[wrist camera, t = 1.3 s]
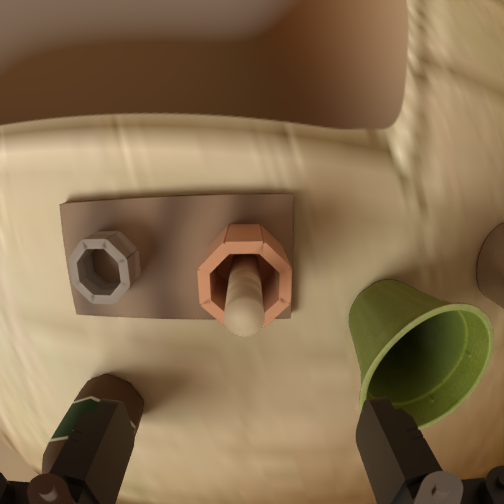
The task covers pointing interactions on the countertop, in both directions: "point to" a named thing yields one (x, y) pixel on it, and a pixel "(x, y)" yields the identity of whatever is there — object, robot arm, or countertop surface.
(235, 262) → the birch dowel
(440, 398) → the plant pot
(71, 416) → the beer bottle
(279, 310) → the terracotta cup
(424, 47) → the countertop surface
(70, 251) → the peg socket board
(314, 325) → the countertop surface
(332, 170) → the countertop surface
